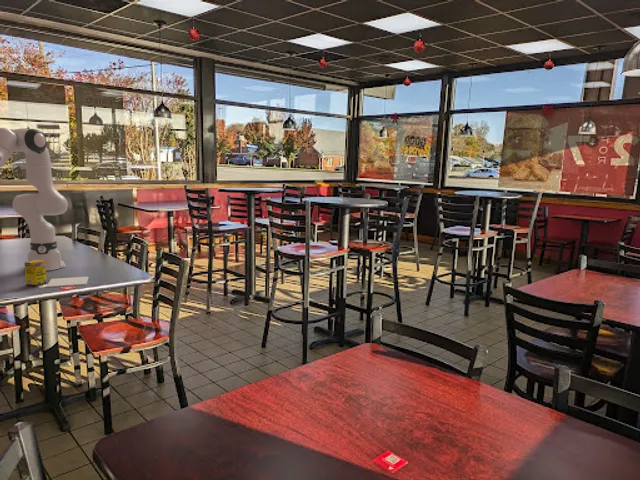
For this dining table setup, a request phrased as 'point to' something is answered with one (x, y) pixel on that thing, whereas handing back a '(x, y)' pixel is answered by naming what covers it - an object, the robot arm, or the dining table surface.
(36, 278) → the supplement box
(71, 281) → the mat
